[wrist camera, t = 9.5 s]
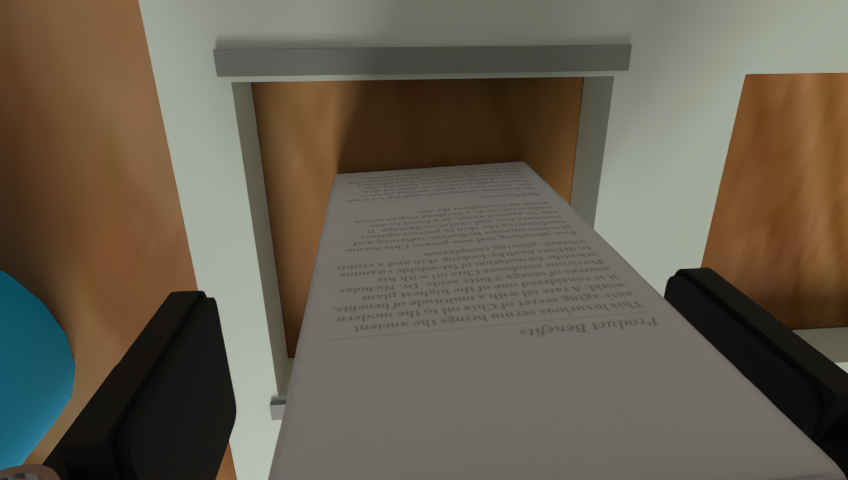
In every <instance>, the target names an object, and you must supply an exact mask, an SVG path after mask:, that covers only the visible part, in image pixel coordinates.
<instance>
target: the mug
mask: <svg viewBox="0 0 848 480" xmlns="http://www.w3.org/2000/svg"><path fill="white" fill-rule="evenodd" d="M74 373H75V364H74V360H73V357H72V354H71V350H70V347H69V344H68V340H67V337H66V334H65V333H64V331H63V330H62V328H61V327H60V326H59V324H58V323H57V321H56V320H55V319H54V317H53V316H52V314H51V313H50V312H49V310H48V309H47V307H46V306H45V305H44V303H43V302H42V301H40V300H39V299H38V298H37V297H36V296H34V295H33V294H32V293H31V292H29V291H28V290H27V289H26V288H25V287H23V286H22V285H21V284H20V283H18V282H17V281H16V280H15V279H14V278H12V277H11V276H10V275H9V274H7V273H5V272H3V271H1V270H0V470H3V469H6V468H10V467H15V466H19V465H21V464H22V463H23V462H24V461H25V459H26V458H27V457H28V455H29V454H30V453H31V452H32V450H33V449H34V448H35V447H36V445H37V444H38V443H39V441H40V440H41V439H42V438H43V436H44V435H45V434H46V433H47V431H48V430H49V429H50V427H51V426H52V425H53V424H54V422H55V421H56V420H57V418H58V417H59V415H60V414H61V412H62V410H63V409H64V407H65V406H66V404H67V402H68V401H69V399H70V398H71V396H72V391H73V382H74Z"/></svg>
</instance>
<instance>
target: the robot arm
mask: <svg viewBox="0 0 848 480" xmlns="http://www.w3.org/2000/svg"><path fill="white" fill-rule="evenodd" d="M664 299H665V300H666V301H667V302H669V303H670V304H671V305H672V306H673V307H674V308H675V309H676V310H677V311H678V312H679V313H680V314H681V315H682V316H683V317H684V318H685V319H686V320H687V321H688V322H689V323H690V324H691V325H692V326H693V327H694V328H695V329H696V330H697V331H698V332H699V333H700V334H701V335H702V336H703V337H704V338H705V339H706V340H707V341H708V342H709V343H711V344H712V345H713V346H714V347H715V348H716V349H717V350H718V351H719V352H720V353H721V354H722V355H723V356H724V357H725V358H726V359H727V360H729V361H730V362H731V363H732V364H733V365H734V366H735V367H736V368H737V369H738V370H739V371H740V372H741V374H742V375H743V376H744V377H746V378H747V379H748V380H749V381H750V382H751V383H752V384H753V385H754V386H755V387H756V388H758V389H759V390H760V391H761V392H762V393H763V394H764V395H765V396H766V397H767V398H768V399H769V400H770V401H771V402H772V403H773V404H774V405H775V406H776V407H777V408H778V409H779V410H780V411H781V412H782V413H783V414H784V415H785V416H786V417H787V418H788V419H789V420H790V421H791V422H793V423H794V424H795V425H796V426H797V427H798V428H799V429H800V430H801V431H802V432H803V433H804V434H805V435H806V436H807V437H808V438H809V439H811V440H812V441H813V442H814V443H815V444H816V445H817V446H818V447H819V448H820V449H821V450H822V451H823V452H824V453H825V454H826V455H827V456H828V457H829V458H831V459H832V460H833V461H834V462H835V463H836V464H837V466H838V467H839V468H840V469H841V471H842V472H843V473H844V475H845V477H846V479H839V480H848V373H847V372H846V371H844V370H843V369H842V368H840V367H839V366H838V365H836V364H835V363H834V362H832V361H831V360H830V359H828V358H827V357H826V356H825V355H823V354H822V353H821V352H819V351H818V350H817V349H815V348H814V347H813V346H811V345H810V344H809V343H807V342H806V341H805V340H804V339H802V338H801V337H800V336H798V335H797V334H796V333H794V332H793V331H792V330H790V329H789V328H788V327H786V326H785V325H784V324H783V323H781V322H780V321H779V320H777V319H776V318H775V317H773V316H772V315H771V314H769V313H768V312H767V311H765V310H764V309H763V308H762V307H760V306H759V305H758V304H756V303H755V302H754V301H752V300H751V299H750V298H748V297H747V296H746V295H744V294H743V293H742V292H741V291H739V290H738V289H737V288H735V287H734V286H733V285H731V284H730V283H729V282H727V281H726V280H725V279H723V278H722V277H721V276H720V275H718V274H717V273H716V272H714V271H713V270H712V269H710V268H688V269H679V270H678V271H677V272H676V273H675V275H674V276H671V277H669V279H668V280H667V284H666V288H665V293H664ZM235 420H236V400H235V395H234V390H233V385H232V380H231V374H230V369H229V364H228V359H227V354H226V348H225V343H224V338H223V333H222V328H221V322H220V317H219V312H218V307H217V303H216V300H215V298H214V297H207V296H206V294H205V292H204V291H180V292H171V293H170V294H169V296H168V297H167V298H166V300H165V301H164V302H163V304H162V305H161V306H160V308H159V309H158V310H157V312H156V313H155V315H154V316H153V317H152V319H151V320H150V321H149V323H148V324H147V325H146V327H145V328H144V329H143V331H142V332H141V333H140V335H139V336H138V338H137V339H136V340H135V342H134V343H133V344H132V346H131V347H130V348H129V350H128V351H127V352H126V354H125V355H124V356H123V358H122V359H121V361H120V362H119V363H118V364H117V365H116V366H115V367H114V368H113V370H112V371H111V372H110V374H109V375H108V377H107V378H106V379H105V381H104V382H103V383H102V385H101V386H100V387H99V389H98V390H97V391H96V393H95V394H94V395H93V397H92V398H91V399H90V401H89V402H88V403H87V405H86V406H85V408H84V409H83V410H82V412H81V413H80V414H79V416H78V417H77V418H76V420H75V421H74V422H73V424H72V425H71V426H70V428H69V429H68V430H67V432H66V433H65V434H64V436H63V437H62V439H61V440H60V441H59V443H58V444H57V445H56V447H55V448H54V449H53V451H52V452H51V453H50V455H49V456H48V457H47V459H46V460H45V461H44V463H43V464H42V465H40V464H24V465H19V466H15V467H10V468H6V469H3V470H0V480H215V479H216V476H217V473H218V470H219V468H220V465H221V462H222V459H223V456H224V453H225V450H226V447H227V444H228V442H229V439H230V436H231V433H232V430H233V427H234V424H235Z"/></svg>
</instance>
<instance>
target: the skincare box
mask: <svg viewBox="0 0 848 480" xmlns="http://www.w3.org/2000/svg"><path fill="white" fill-rule="evenodd" d="M839 479H846V477H845V475H844V473H843V472H842V471H841V469H840V468H839V467H838V466H837V464H836V463H835V462H834V461H833V460H832V459H831V458H829V457H828V456H827V455H826V454H825V453H824V452H823V451H822V450H821V449H820V448H819V447H818V446H817V445H816V444H815V443H814V442H813V441H812V440H811V439H809V438H808V437H807V436H806V435H805V434H804V433H803V432H802V431H801V430H800V429H799V428H798V427H797V426H796V425H795V424H794V423H793V422H791V421H790V420H789V419H788V418H787V417H786V416H785V415H784V414H783V413H782V412H781V411H780V410H779V409H778V408H777V407H776V406H775V405H774V404H773V403H772V402H771V401H770V400H769V399H768V398H767V397H766V396H765V395H764V394H763V393H762V392H761V391H760V390H759V389H758V388H756V387H755V386H754V385H753V384H752V383H751V382H750V381H749V380H748V379H747V378H746V377H744V376H743V375H742V374H741V372H740V371H739V370H738V369H737V368H736V367H735V366H734V365H733V364H732V363H731V362H730V361H729V360H727V359H726V358H725V357H724V356H723V355H722V354H721V353H720V352H719V351H718V350H717V349H716V348H715V347H714V346H713V345H712V344H711V343H709V342H708V341H707V340H706V339H705V338H704V337H703V336H702V335H701V334H700V333H699V332H698V331H697V330H696V329H695V328H694V327H693V326H692V325H691V324H690V323H689V322H688V321H687V320H686V319H685V318H684V317H683V316H682V315H681V314H680V313H679V312H678V311H677V310H676V309H675V308H674V307H673V306H672V305H671V304H670V303H669V302H667V301H666V300H665V299H664V298H663V297H662V296H661V295H660V294H659V293H658V292H657V291H656V290H655V289H654V288H653V287H652V286H651V285H650V284H649V283H648V282H647V281H646V280H645V279H644V278H643V277H642V276H641V275H640V274H639V273H638V272H637V271H636V270H635V269H634V268H633V267H632V266H631V265H630V264H629V263H628V262H627V261H626V260H625V259H624V258H623V257H622V256H621V255H620V254H619V253H618V252H617V251H616V250H615V249H614V248H613V247H612V246H610V245H609V244H608V243H607V242H606V241H605V240H604V239H603V238H602V237H601V236H600V235H599V234H598V233H597V232H596V231H595V230H594V229H593V228H592V227H591V226H590V225H589V224H588V223H587V222H586V221H585V220H584V219H583V218H582V217H581V216H580V215H579V214H578V213H577V212H576V211H575V210H574V209H573V208H572V207H571V206H570V205H569V204H568V203H567V202H566V201H565V200H564V199H563V198H562V197H561V196H559V195H558V194H557V192H556V191H555V190H554V189H552V188H551V187H550V186H549V185H548V184H547V183H546V182H545V181H544V180H543V179H542V178H541V177H540V176H539V175H538V174H537V173H536V172H535V171H534V170H533V169H532V168H531V167H530V166H529V165H528V164H527V163H525V162H523V161H520V162H508V163H493V164H478V165H462V166H448V167H433V168H421V169H405V170H392V171H378V172H362V173H347V174H337V175H335V177H334V180H333V184H332V188H331V192H330V197H329V202H328V207H327V211H326V216H325V222H324V227H323V231H322V234H321V238H320V243H319V247H318V252H317V256H316V261H315V265H314V270H313V275H312V280H311V285H310V289H309V294H308V298H307V303H306V308H305V312H304V317H303V322H302V326H301V330H300V336H299V340H298V344H297V348H296V354H295V359H294V364H293V370H292V375H291V380H290V384H289V387H288V392H287V399H286V406H285V411H284V415H283V419H282V423H281V427H280V432H279V435H278V439H277V443H276V447H275V451H274V456H273V460H272V464H271V469H270V473H269V477H268V480H839Z"/></svg>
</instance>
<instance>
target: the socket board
mask: <svg viewBox="0 0 848 480" xmlns="http://www.w3.org/2000/svg"><path fill="white" fill-rule="evenodd" d="M139 5H140V10H141V15H142V20H143V24H144V29H145V34H146V39H147V44H148V49H149V54H150V58H151V63H152V68H153V73H154V78H155V83H156V88H157V92H158V97H159V102H160V107H161V112H162V117H163V121H164V126H165V131H166V136H167V141H168V146H169V151H170V155H171V160H172V165H173V170H174V175H175V180H176V185H177V189H178V194H179V199H180V204H181V209H182V214H183V218H184V223H185V228H186V233H187V238H188V243H189V248H190V252H191V257H192V262H193V267H194V272H195V277H196V282H197V286H198V291H204V292H205V294H206V296H207V297H214V298H215V300H216V303H217V307H218V312H219V317H220V322H221V328H222V333H223V338H224V343H225V348H226V354H227V359H228V364H229V369H230V374H231V380H232V385H233V390H234V395H235V400H236V420H235V424H234V427H233V430H232V433H231V436H230V439H229V442H230V446H231V451H232V456H233V461H234V466H235V471H236V476H237V480H268V477H269V473H270V469H271V464H272V460H273V456H274V451H275V447H276V443H277V439H278V435H279V432H280V427H281V423H282V419H283V415H284V411H285V406H286V399H287V392H288V387H289V384H290V380H291V375H292V370H293V364H294V359H295V358H288V353H287V346H286V339H285V331H284V324H283V316H282V309H281V302H280V294H279V287H278V279H277V272H276V265H275V257H274V250H273V242H272V235H271V227H270V220H269V213H268V205H267V198H266V190H265V183H264V176H263V168H262V161H261V153H260V146H259V139H258V131H257V124H256V116H255V109H254V102H253V94H252V87H251V82H281V81H343V80H405V79H467V78H530V77H584V85H583V94H582V103H581V112H580V120H579V129H578V138H577V147H576V156H575V165H574V173H573V182H572V191H571V200H570V206H571V207H572V208H573V209H574V210H575V211H576V212H577V213H578V214H579V215H580V216H581V217H582V218H583V219H584V220H585V221H586V222H587V223H588V224H589V225H590V226H591V227H592V228H593V229H594V230H595V231H596V232H597V233H598V234H599V235H600V236H601V237H602V238H603V239H604V240H605V241H606V242H607V243H608V244H609V245H610V246H612V247H613V248H614V249H615V250H616V251H617V252H618V253H619V254H620V255H621V256H622V257H623V258H624V259H625V260H626V261H627V262H628V263H629V264H630V265H631V266H632V267H633V268H634V269H635V270H636V271H637V272H638V273H639V274H640V275H641V276H642V277H643V278H644V279H645V280H646V281H647V282H648V283H649V284H650V285H651V286H652V287H653V288H654V289H655V290H656V291H657V292H658V293H659V294H660V295H661V296H662V297H663V298H664V293H665V288H666V284H667V280H668V279H669V277H671V276H674V275H675V273H676V272H677V271H678V270H679V269H688V268H700V267H701V263H702V259H703V254H704V250H705V246H706V242H707V237H708V233H709V229H710V224H711V220H712V216H713V211H714V207H715V203H716V199H717V194H718V190H719V186H720V181H721V177H722V173H723V168H724V164H725V160H726V156H727V151H728V147H729V143H730V138H731V134H732V130H733V125H734V121H735V117H736V113H737V108H738V104H739V100H740V95H741V91H742V87H743V82H744V78H745V74H778V73H840V72H848V0H139ZM792 331H793V332H794V333H796V334H797V335H798V336H800V337H801V338H802V339H804V340H805V341H806V342H807V343H809V344H810V345H811V346H813V347H814V348H815V349H817V350H818V351H819V352H821V353H822V354H823V355H825V356H826V357H827V358H828V359H830V360H831V361H832V362H834V363H835V364H836V365H838V366H839V367H840V368H842V369H843V370H844V371H846V372H847V373H848V327H840V328H822V329H804V330H792Z"/></svg>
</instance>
